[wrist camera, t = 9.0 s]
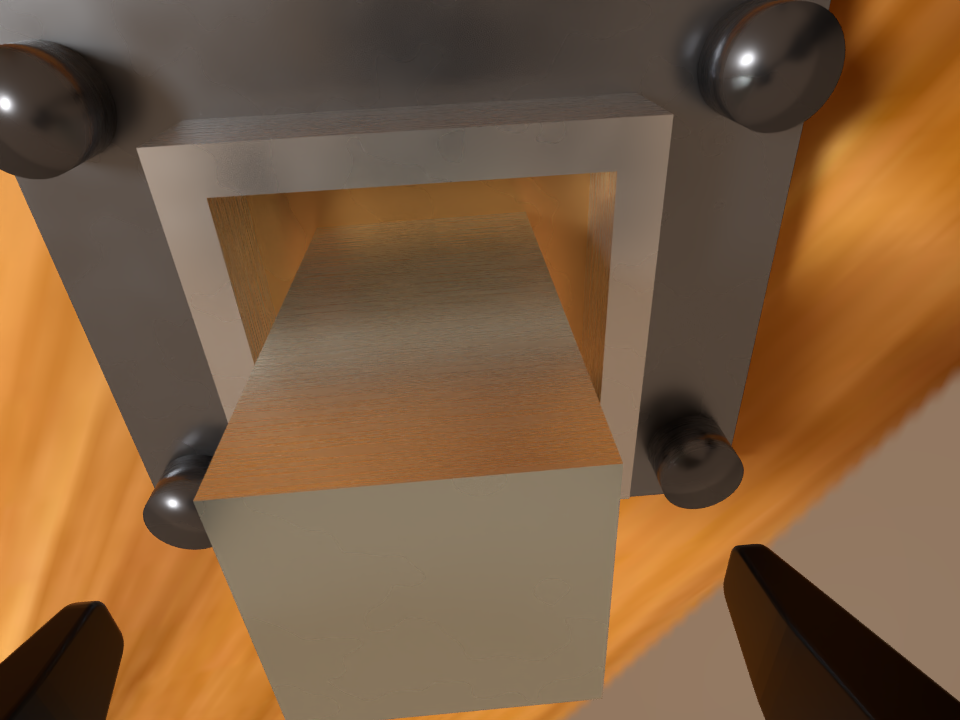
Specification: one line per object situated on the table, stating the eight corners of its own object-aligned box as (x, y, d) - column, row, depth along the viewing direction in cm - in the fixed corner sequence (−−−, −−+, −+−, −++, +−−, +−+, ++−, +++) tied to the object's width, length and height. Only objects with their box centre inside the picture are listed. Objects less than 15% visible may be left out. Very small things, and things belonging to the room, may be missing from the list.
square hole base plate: (793, -49, 14) (925, -57, 10) (700, 449, 22) (754, 548, 18) (-3, -6, 14) (-171, 2, 10) (195, 489, 22) (144, 599, 18)
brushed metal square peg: (525, 211, 15) (623, 464, 7) (529, 424, 18) (598, 745, 11) (316, 227, 15) (193, 501, 7) (360, 439, 18) (309, 774, 11)
